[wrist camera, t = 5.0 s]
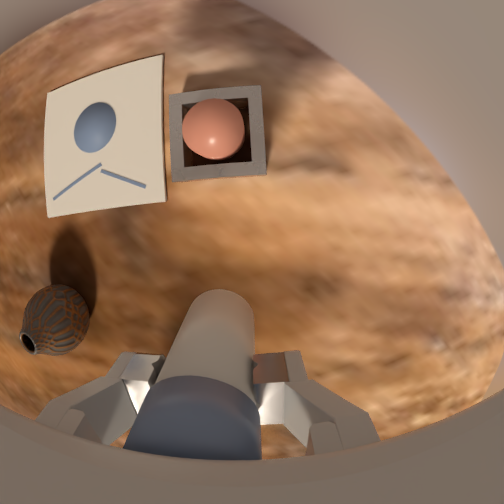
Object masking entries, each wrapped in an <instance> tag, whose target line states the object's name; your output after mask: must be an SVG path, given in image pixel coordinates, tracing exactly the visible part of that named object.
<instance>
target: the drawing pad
mask: <svg viewBox="0 0 504 504" xmlns="http://www.w3.org/2000/svg"><path fill="white" fill-rule="evenodd" d="M163 59H164V56H163V55H159V56H154V57H150V58H146V59H142V60H138V61H134V62H131V63H127V64H124V65H120V66H117V67H114V68H111V69H107V70H104V71H101V72H99V73H96V74H93V75H90V76H87V77H85V78H82V79H80V80H77V81H75V82H72V83H70V84H67V85H65V86H63V87H61V88H58V89H56V90H54V91H52V92H50V93H48V94H47V103H46V114H45V132H44V175H45V192H46V204H47V214H48V218H51V217H56V216H62V215H68V214H74V213H80V212H87V211H94V210H100V209H107V208H115V207H122V206H130V205H138V204H147V203H156V202H165V201H167V196H166V182H165V166H164V144H163Z"/></svg>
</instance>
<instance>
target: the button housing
mask: <svg viewBox="0 0 504 504" xmlns="http://www.w3.org/2000/svg"><path fill="white" fill-rule="evenodd" d="M212 98H217V99H223V100H226V101H228V102H230V103H232V104H233V105H234V106H235V107H236V108H237V109H241V108H249V120H250V137H251V154H252V162H239V163H225V164H213V165H202V166H193V165H192V150H191V149H190V148H189V147H188V146H187V144H186V143H185V141H184V138H183V134H182V124H183V120H184V118H185V116H186V114H187V112H188V111H189V110H190V109H191V108H192V107H193V106H194V105H196V104H197V103H199V102H201V101H203V100H206V99H212ZM169 127H170V154H171V173H172V182H189V181H199V180H210V179H222V178H236V177H253V176H265V175H267V173H266V155H265V139H264V123H263V108H262V94H261V85H254V86H237V87H225V88H215V89H206V90H198V91H191V92H184V93H178V94H172V95H169Z"/></svg>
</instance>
